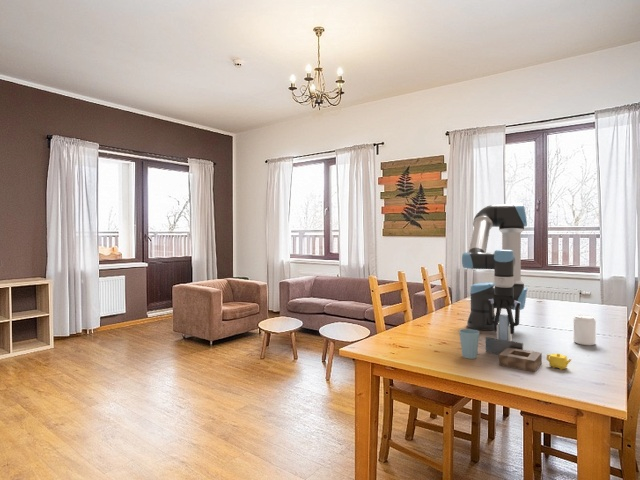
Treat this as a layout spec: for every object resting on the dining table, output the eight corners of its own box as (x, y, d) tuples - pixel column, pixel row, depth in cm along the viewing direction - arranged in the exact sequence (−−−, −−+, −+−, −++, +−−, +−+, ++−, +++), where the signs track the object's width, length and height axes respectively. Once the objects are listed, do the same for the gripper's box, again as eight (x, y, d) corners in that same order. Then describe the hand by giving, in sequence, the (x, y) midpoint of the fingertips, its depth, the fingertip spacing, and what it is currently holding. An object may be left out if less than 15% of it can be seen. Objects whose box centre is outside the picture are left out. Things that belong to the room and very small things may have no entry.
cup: (457, 353, 163) (456, 328, 163) (475, 353, 162) (475, 328, 162) (462, 359, 155) (462, 333, 155) (482, 359, 155) (482, 333, 154)
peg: (498, 348, 168) (497, 315, 167) (500, 345, 171) (500, 313, 171) (508, 349, 165) (507, 316, 165) (510, 347, 168) (510, 315, 168)
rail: (485, 352, 164) (485, 337, 164) (486, 351, 165) (486, 337, 165) (522, 358, 155) (522, 343, 155) (523, 357, 156) (523, 342, 156)
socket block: (499, 365, 148) (499, 354, 148) (507, 357, 157) (507, 347, 157) (534, 371, 141) (534, 360, 141) (541, 363, 150) (541, 352, 150)
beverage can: (585, 346, 170) (585, 319, 170) (569, 341, 178) (569, 315, 178) (600, 345, 172) (600, 317, 172) (583, 340, 180) (583, 314, 180)
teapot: (574, 368, 144) (574, 354, 144) (569, 372, 140) (569, 357, 140) (549, 363, 150) (549, 349, 150) (545, 366, 146) (544, 353, 146)
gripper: (480, 285, 170) (481, 339, 171) (523, 288, 159) (523, 346, 160) (486, 283, 176) (486, 335, 176) (527, 286, 165) (528, 341, 165)
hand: (504, 340), depth 168 cm, fingers closed on peg, 4 cm apart
